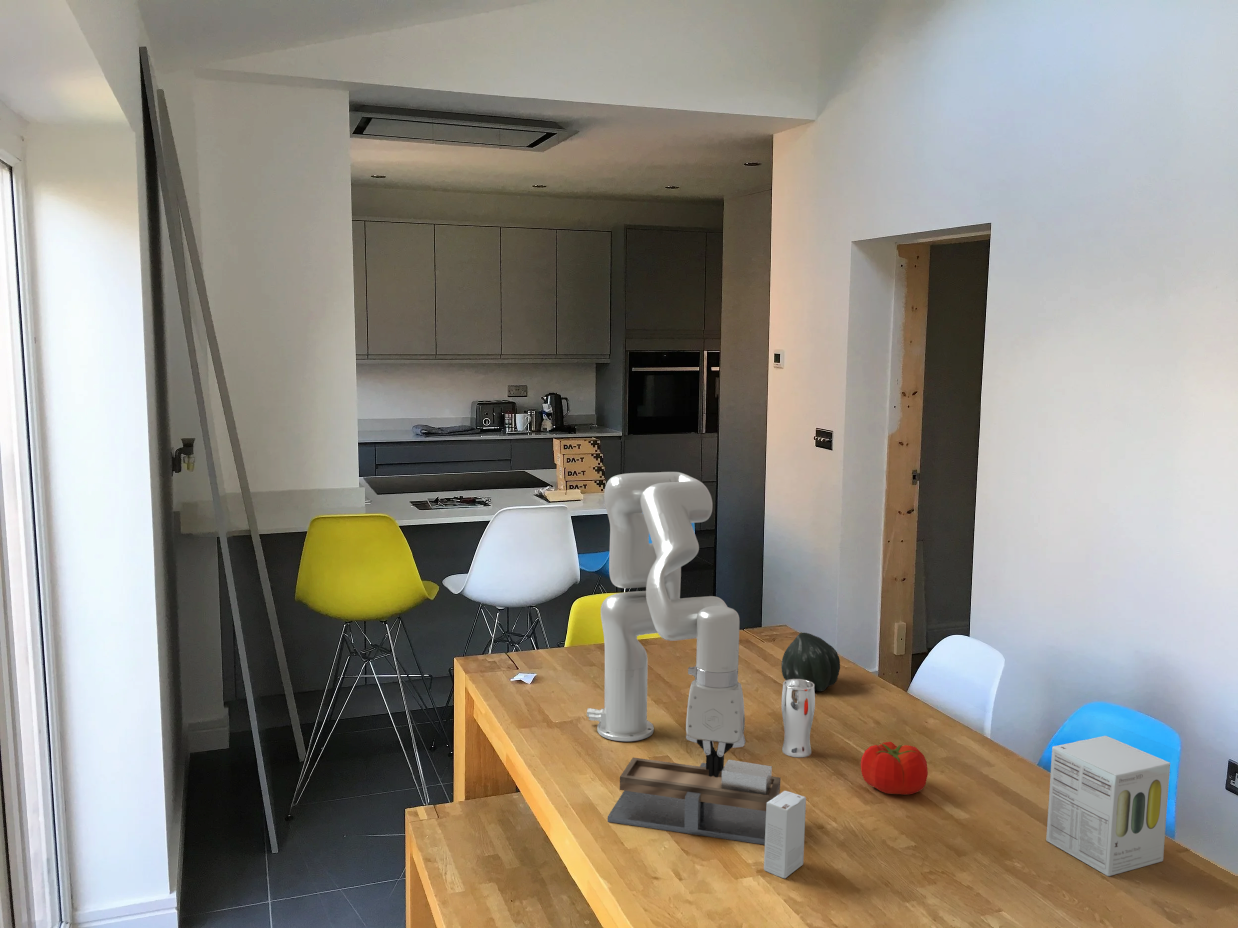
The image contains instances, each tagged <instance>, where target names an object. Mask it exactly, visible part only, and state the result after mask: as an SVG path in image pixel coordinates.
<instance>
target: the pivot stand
mask: <svg viewBox="0 0 1238 928" xmlns="http://www.w3.org/2000/svg"><path fill="white" fill-rule="evenodd" d="M699 766H700V767H706V762H701V763H700V765H699ZM607 823H612V824H613V823H614V824H621V825H629V826H632V827H633V826H635V827H640V828H641V827H642V828H648V829H654V830H661V831H668V832H675V833H681V834H689V835H696V836H701V837H702V836H704V837H710V838H716V839H722V840H730V841H738V842H742V843H744V842H745V843H750V844H757V845H764V846H765V828H766V811H761V810H754V809H747V808H740V807H733V806H727V805H720V804H713V803H706V802H701V793H694V792H687V794H686V796H685V799H679V798H672V797H665V796H658V795H651V794H644V793H638V792H631V791H624V790H623V792H622V793H621V795H620V796H619V798H618V800H617V801H616V803H615V804H614V805H613V807H612V809H611V811H610V812H609V813H608V815H607Z"/></svg>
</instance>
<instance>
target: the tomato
mask: <svg viewBox="0 0 1238 928" xmlns="http://www.w3.org/2000/svg"><path fill="white" fill-rule="evenodd" d="M860 770H861V776H862V778H863V780H864V782H865V783H867V785H869V786H870V787H873V788H874V789H877V790H879V792H882V793H885V794H887V795H906V796H907V795H912V794H915V793H918V792H921V790H923V789H924V788H925V786H926V784H927V780H928V775H929V771H928V770H929V769H928V762H927V759H926V757H925V755H924V754H923V753H922V752H921V751H920V750H919V748H917V747H916V746H913V745H909V744H904V745H903V744H899V745H898V746H897V745H896V744H894V742H892V741H885V742H881V743H880V742H879V745H877V744H873V745H871V746H869V747H868V748H867V749H865V751H864V752H863V753H862V756H861V760H860Z"/></svg>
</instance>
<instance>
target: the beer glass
mask: <svg viewBox="0 0 1238 928" xmlns="http://www.w3.org/2000/svg"><path fill="white" fill-rule="evenodd" d="M815 691H816V690H815V688H814V684H813V683H812V682H810V681H807V680H803V679H789V680H784V681H783V683H782V693H781V715H782V722H783V730H784V740H783V745H782V748H781V749H782V753H783V754H784V755H786V756H789V757H791V758H797V759H798V758H801V759H802V758H807V757H809V756H811V754H812V747H811V737H810V736H811V730H812V725H813V720H814V716H815V711H816V710H815V708H816V693H815Z"/></svg>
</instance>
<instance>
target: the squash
mask: <svg viewBox="0 0 1238 928" xmlns="http://www.w3.org/2000/svg"><path fill="white" fill-rule="evenodd" d="M840 670H841V660H840V657H839V654H838V652H837V650H836V649H835V648H834V646H832V645H830V643H828V642H827V641H825V640H824V639H823V638H821V637H819V636H816V635H814V634H812V633H808V632H799V634H797V635H796V637H795V639H794V640H793V641H792V642H790V644H789V645H788V646H787V648H786V649H785V651H784V653H783V656H782V659H781V673H782V677H783V679H784V681H786V680H789V679H803V680H807V681H810V682H812V683H813V684H814V691H817V692H823V691H825V690H826V689H827V688H828V687H832V686H834V685H835V683H837V681H838V679H839V675H840Z"/></svg>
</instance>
